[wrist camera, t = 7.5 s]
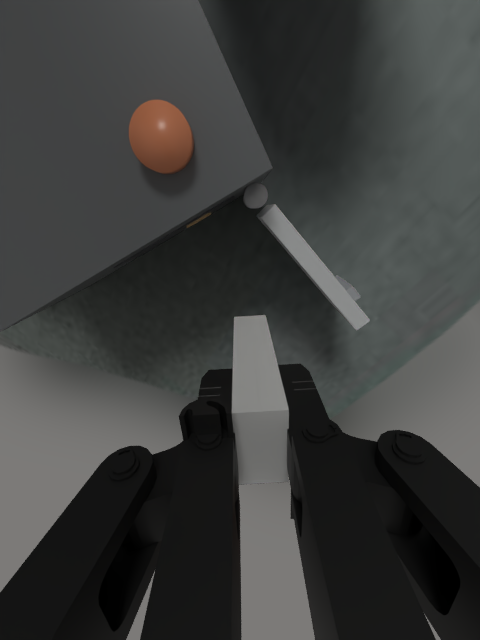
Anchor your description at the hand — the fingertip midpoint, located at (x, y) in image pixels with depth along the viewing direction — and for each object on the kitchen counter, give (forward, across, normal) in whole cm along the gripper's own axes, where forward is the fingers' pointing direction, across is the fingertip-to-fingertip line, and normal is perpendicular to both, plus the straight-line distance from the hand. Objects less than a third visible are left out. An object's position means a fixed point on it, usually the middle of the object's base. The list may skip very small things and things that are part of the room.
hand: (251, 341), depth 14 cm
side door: (+9, +5, +2) cm, 10 cm away
